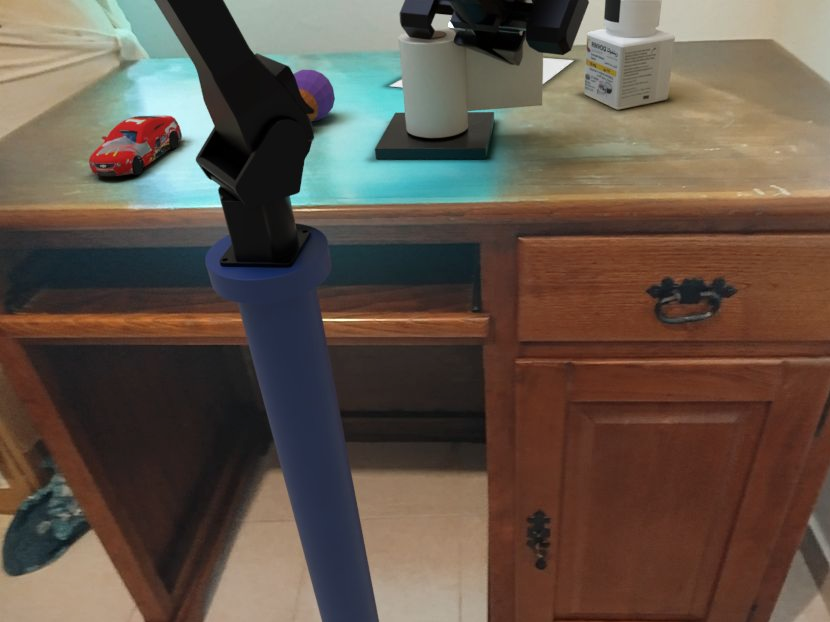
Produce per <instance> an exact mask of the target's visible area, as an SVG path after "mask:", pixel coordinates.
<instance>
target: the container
mask: <svg viewBox="0 0 830 622" xmlns="http://www.w3.org/2000/svg"><path fill="white" fill-rule="evenodd" d="M662 3H663V0H604V13H603V14H604V15H603V27H605V28H602V29H595V30H590V31H588V32H587V34H586V47H585V48H586V49H585V64H584V65H585V67H584V84H583V85H584V86H583V94H584V95H585V96H587V97H589V98H591V99H593V100H595V101H598V102H600V103H602V104H605V105H606V106H608V107H610V108H612V109H614V110H617V111H620V110H622V109H623V110H624V109H629V108H633V107H638V106H643V105H648V104H653V103H658V102H662V101H666V100H668V98H669V89H670V82H671V75H672V73H671V72H672V66H673V57H674V49H675V41H676V40H675V39H676V36H675V35H674V34H672V33H669V32H665V31H663V30H659V29H657V28H659V26H660V20H661V12H662V11H661V10H662Z"/></svg>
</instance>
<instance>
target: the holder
mask: <svg viewBox="0 0 830 622" xmlns="http://www.w3.org/2000/svg"><path fill="white" fill-rule="evenodd" d="M392 116H393V117H391V119H390V121H389V122H388V124H387V127H386V128H385V130H384V132H383V133H382V135H381V137H380V139H379V140H378V142H377V144H376V146H374V147H375V148H374V155H375V159H376V160H486V159H487V156H488V152H489V147H490V143H491V142H490V141H491V138H492V133H493V129H494V124H495V112H494V111H468V128H467V129H466V130H465V131H464V132H462V133H460V134H457V135H454V136H449V137H443V138H423V137H417V136H414V135H411V134H410V133H408V132H407V130H406V119H405V112H395V113H394V114H393V115H392Z"/></svg>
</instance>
